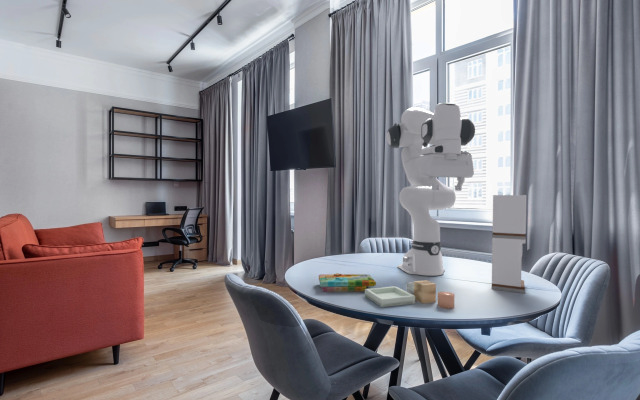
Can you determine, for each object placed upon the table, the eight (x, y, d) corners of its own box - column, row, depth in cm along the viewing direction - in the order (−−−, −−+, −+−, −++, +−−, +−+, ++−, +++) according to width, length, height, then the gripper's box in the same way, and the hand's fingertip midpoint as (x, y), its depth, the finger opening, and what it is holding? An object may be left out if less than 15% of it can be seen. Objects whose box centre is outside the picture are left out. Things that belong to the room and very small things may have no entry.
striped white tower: (524, 293, 124) (526, 195, 124) (491, 288, 130) (493, 195, 129) (523, 285, 134) (525, 195, 133) (493, 282, 139) (494, 194, 139)
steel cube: (406, 294, 123) (406, 282, 123) (414, 292, 125) (414, 281, 125) (415, 296, 120) (415, 285, 120) (423, 294, 122) (423, 283, 122)
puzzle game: (318, 272, 135) (369, 272, 137) (318, 284, 136) (369, 284, 137) (320, 280, 124) (376, 279, 125) (320, 293, 124) (375, 292, 125)
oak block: (413, 299, 117) (413, 281, 117) (426, 297, 119) (426, 280, 118) (422, 303, 112) (422, 285, 112) (435, 302, 114) (435, 283, 114)
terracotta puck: (434, 304, 111) (434, 292, 111) (447, 303, 113) (447, 290, 113) (444, 309, 107) (444, 296, 107) (457, 307, 108) (458, 295, 108)
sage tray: (364, 296, 120) (365, 289, 120) (395, 293, 123) (395, 286, 123) (381, 307, 108) (381, 299, 108) (415, 303, 112) (415, 295, 112)
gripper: (464, 152, 125) (464, 191, 125) (416, 149, 118) (416, 190, 118) (478, 150, 119) (478, 190, 119) (428, 147, 112) (427, 190, 112)
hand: (446, 190), depth 118 cm, fingers open, 8 cm apart
